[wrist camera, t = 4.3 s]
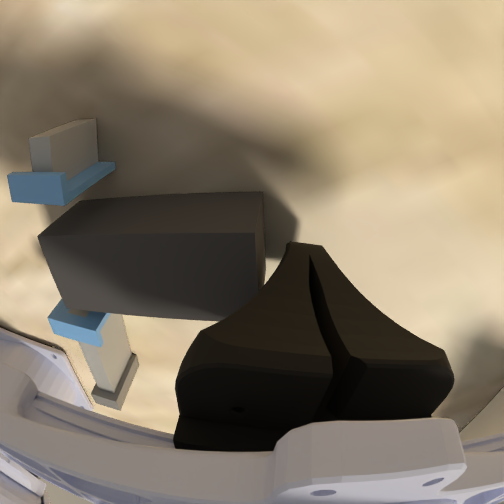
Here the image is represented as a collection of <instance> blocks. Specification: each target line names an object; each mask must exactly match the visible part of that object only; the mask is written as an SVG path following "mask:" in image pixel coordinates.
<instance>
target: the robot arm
mask: <svg viewBox="0 0 504 504" xmlns="http://www.w3.org/2000/svg"><path fill="white" fill-rule="evenodd" d="M453 384H454V375H453V372H452V369H451V366H450V364H449V361H448V358H447V356H446V354H445V351H444V350H443V349H441V348H439V347H437V346H435V345H433V344H431V343H429V342H427V341H425V340H423V339H421V338H419V337H417V336H416V335H414V334H412V333H411V332H409V331H407V330H406V329H404V328H403V327H401V326H400V325H398V324H397V323H395V322H394V321H393V320H391V319H390V318H389V317H387V316H386V315H385V314H383V313H382V312H381V311H380V310H379V309H377V308H376V307H375V306H374V305H373V304H372V303H371V302H370V301H368V300H367V299H366V298H365V297H364V296H363V295H362V294H361V293H360V292H359V291H358V290H357V289H356V288H355V287H354V285H353V284H352V283H351V282H350V281H349V280H348V279H347V277H346V276H345V275H344V274H343V273H342V271H341V270H340V269H339V268H338V266H337V265H336V264H335V262H334V261H333V260H332V258H331V257H330V256H329V254H328V253H327V252H326V250H325V249H324V248H323V246H321V245H314V244H306V243H298V242H291V241H290V242H289V243H287V245H286V251H285V254H284V256H283V258H282V260H281V262H280V264H279V265H278V267H277V269H276V270H275V272H274V273H273V274H272V276H271V277H270V279H269V280H268V281H267V282H266V284H265V285H264V286H263V287H262V288H261V289H260V290H259V291H258V292H257V294H256V295H254V296H253V297H252V298H251V299H250V300H249V301H248V302H247V303H246V304H244V305H243V306H242V307H241V308H239V309H238V310H236V311H235V312H233V313H232V314H231V315H229V316H228V317H226V318H225V319H223V320H221V321H219V322H218V323H216V324H214V325H212V326H210V327H208V328H205V329H203V330H201V331H200V332H199V334H198V335H197V337H196V338H195V340H194V341H193V343H192V344H191V346H190V348H189V349H188V351H187V353H186V355H185V357H184V359H183V361H182V363H181V366H180V369H179V372H178V375H177V378H176V383H175V391H176V397H177V402H178V408H179V413H180V415H179V419H178V422H177V426H176V430H175V433H174V434H170V433H165V432H161V431H157V430H153V429H149V428H145V427H141V426H138V425H134V424H130V423H127V422H123V421H120V420H117V419H114V418H110V417H107V416H104V415H101V414H98V413H95V412H92V411H93V409H94V408H93V406H92V404H91V403H90V401H89V399H88V397H87V395H86V394H85V392H84V390H83V388H82V386H81V384H80V382H79V380H78V378H77V376H76V374H75V372H74V370H73V368H72V366H71V364H70V362H69V360H68V358H67V356H66V354H65V353H64V352H62V351H61V350H58V349H55V348H52V347H49V346H47V345H44V344H41V343H38V342H35V341H33V340H30V339H27V338H25V337H22V336H20V335H17V334H15V333H12V332H10V331H7V330H5V329H2V328H0V504H51V502H50V499H49V496H48V493H47V492H46V491H45V488H46V485H47V484H46V483H44V482H42V481H41V480H39V479H40V478H43V479H45V480H46V481H48V482H50V483H52V484H54V485H56V486H58V487H60V488H62V489H64V490H66V491H68V492H70V493H72V494H74V495H76V496H78V497H81V498H83V499H85V500H87V501H89V502H92V503H94V504H497V503H500V502H502V501H504V432H502V433H498V434H494V435H490V436H486V437H481V438H477V439H472V440H467V441H461V438H460V434H459V431H458V427H457V425H456V423H455V421H454V420H452V419H449V418H438V417H433V418H432V416H431V414H432V413H433V412H434V411H435V410H436V408H437V407H438V406H439V405H440V404H441V403H442V402H443V400H444V399H445V398H446V397H447V395H448V394H449V392H450V391H451V389H452V387H453Z"/></svg>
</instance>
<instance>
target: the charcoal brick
mask: <svg viewBox="0 0 504 504" xmlns="http://www.w3.org/2000/svg"><path fill="white" fill-rule="evenodd" d="M37 237H38V240H39V242H40V245H41V248H42V251H43V253H44V256H45V258H46V261H47V264H48V266H49V269H50V271H51V274H52V276H53V278H54V281H55V283H56V286H57V288H58V290H59V292H60V295H61V297H62V299H63V301H64V304H65V306H66V308H69V309H77V310H86V311H94V312H104V313H113V314H123V315H134V316H146V317H158V318H172V319H187V320H204V321H221V320H223V319H225V318H226V317H228V316H229V315H231V314H232V313H233V312H235V311H236V310H238V309H239V308H241V307H242V306H243V305H244V304H246V303H247V302H248V301H249V300H250V299H251V298H252V297H253V296H254V295H256V294H257V292H258V291H259V290H260V289H261V288H262V287H263V286H264V281H265V272H266V260H265V234H264V209H263V192H227V193H196V194H173V195H154V196H138V197H123V198H110V199H98V200H86V201H79V202H78V203H77V204H75V205H74V206H73V207H72V208H70V209H69V210H68V211H67V212H65V213H64V214H63V215H62V216H61V217H59V218H58V219H57V220H56V221H55V222H53V223H52V224H51V225H50V226H49V227H47V228H46V229H45V230H44V231H43V232H42V233H41V234H39V235H38V236H37Z"/></svg>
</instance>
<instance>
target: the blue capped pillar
mask: <svg viewBox="0 0 504 504" xmlns="http://www.w3.org/2000/svg"><path fill="white" fill-rule="evenodd" d="M29 146H30V155H31V163H32V170H33V172H12V173H10V174H8V175H7V178H8V183H9V189H10V194H11V199H12V202H20V203H34V204H47V205H59V206H65V205H67V204H68V203H69V202H70V201H72V200H73V199H74V198H76V197H77V196H78V195H80V194H81V193H82V192H84V191H85V190H87V189H88V188H89V187H91V186H92V185H93V184H95V183H96V182H98V181H99V180H101V179H102V178H103V177H105V176H106V175H108V174H109V173H111V172H112V171H114V170H115V169H116V168H115V162H99V161H98V146H97V124H96V119H82V120H75V121H72V122H69V123H66V124H64V125H61V126H58V127H55V128H53V129H50V130H48V131H45V132H43V133H40V134H38V135H35V136H33V137H30V138H29ZM48 320H49V323H50V325H51V328H52V330H53V332H54V334H57V335H60V336H63V337H66V338H69V339H73V340H76V341H78V342H79V345H80V347H81V349H82V352H83V354H84V357H85V359H86V361H87V364H88V366H89V368H90V371H91V373H92V375H93V377H94V379H95V382H96V384H95V386H94V389H93V391H92V393H91V395H92V397H93V399H94V400H95V402H96V403H97V404H100V405H104V406H107V407H110V408H113V409H117V410H121V408H122V405H123V403H124V400H125V398H126V395H127V393H128V391H129V388H130V386H131V383H132V381H133V379H134V376H135V374H136V372H137V369H138V367H139V363H138V359H137V355H134V354H132V352H131V349H130V345H129V341H128V337H127V333H126V329H125V325H124V321H123V317H122V314H113V313H104V312H94V311H86V310H77V309H69V308H66V306H65V304H64V301H63V299H61V300H60V302H59V303H58V304H57V306H56V307H55V308H54V310H53V311H52V312H51V314H50V315H49V316H48Z"/></svg>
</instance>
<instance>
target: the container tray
mask: <svg viewBox="0 0 504 504" xmlns="http://www.w3.org/2000/svg"><path fill="white" fill-rule="evenodd" d="M502 432H504V387H503V388H502V389H501V390H500V391H499V393H498V394H497V395H496V396H495V397H494V398H493V399H492V400H491V401H490V402H489V404H488V405H487V406H486V407H485V408H484V409H483V410H482V411H481V412H480V413H479V414H478V415H477V416H476V417H475V418H474V419H473V420H472V421H471V422H470V423H469V424H468V425H467V426H466V427H465V428H464V429H463V430H462V431H461V432H460V433H459V434H460V438H461V441H467V440H472V439H477V438H481V437H486V436H490V435H494V434H498V433H502Z"/></svg>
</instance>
